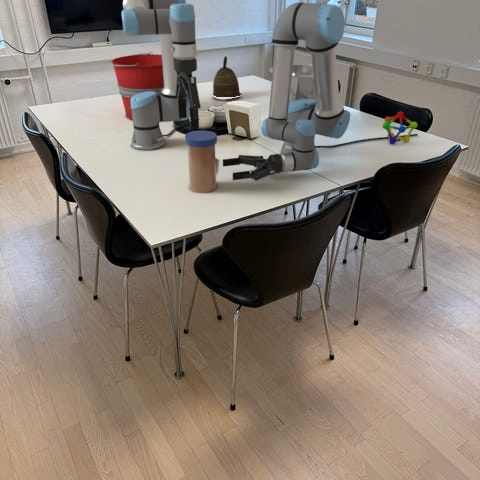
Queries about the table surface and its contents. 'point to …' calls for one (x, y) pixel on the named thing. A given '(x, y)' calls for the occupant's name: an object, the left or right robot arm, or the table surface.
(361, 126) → the table surface
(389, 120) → the educational toy
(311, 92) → the bucket
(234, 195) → the table surface
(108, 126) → the table surface
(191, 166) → the jar
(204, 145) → the lid
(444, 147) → the table surface
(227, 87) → the bell
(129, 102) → the bucket
